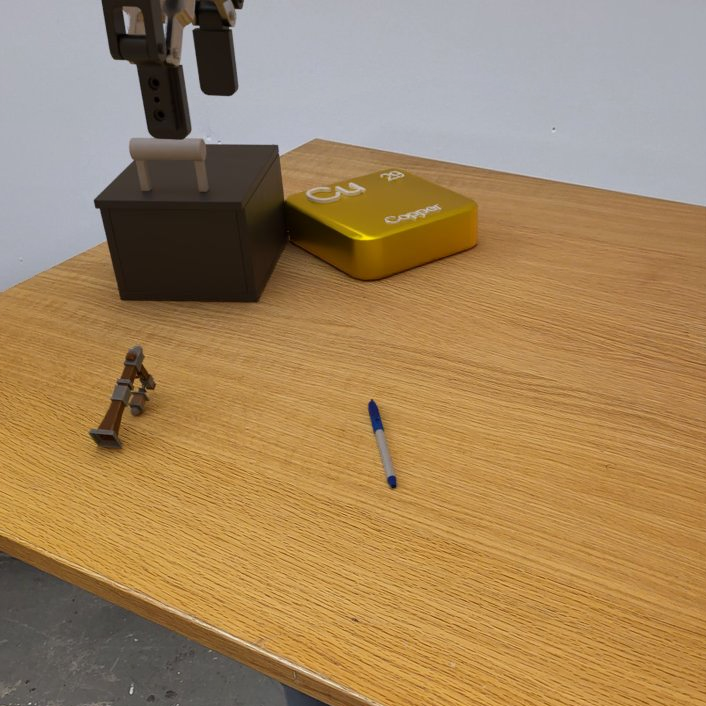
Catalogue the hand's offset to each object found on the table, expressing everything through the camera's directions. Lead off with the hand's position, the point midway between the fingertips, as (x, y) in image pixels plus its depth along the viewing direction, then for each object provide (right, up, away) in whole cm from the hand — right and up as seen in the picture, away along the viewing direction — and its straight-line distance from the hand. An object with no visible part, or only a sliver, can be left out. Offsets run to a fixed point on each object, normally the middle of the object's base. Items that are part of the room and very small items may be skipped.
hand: (197, 114), depth 54 cm
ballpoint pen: (+10, -19, +12) cm, 25 cm away
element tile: (+8, +2, +41) cm, 42 cm away
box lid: (-9, +5, +31) cm, 33 cm away
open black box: (-9, -2, +36) cm, 37 cm away
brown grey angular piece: (-9, -17, +14) cm, 24 cm away
